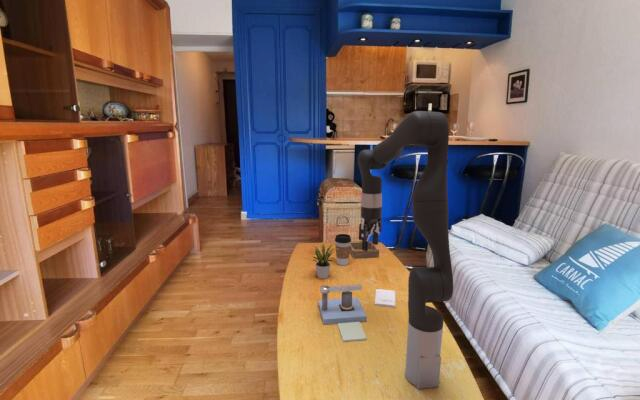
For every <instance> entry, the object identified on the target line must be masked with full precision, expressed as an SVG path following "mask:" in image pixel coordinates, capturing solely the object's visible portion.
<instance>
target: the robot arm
mask: <svg viewBox="0 0 640 400" xmlns="http://www.w3.org/2000/svg"><path fill="white" fill-rule="evenodd" d="M449 127H450V125H449V120H448V118H447V116H446V115H445V114H444V113H443V112H440V111H427V110H415V111H412V112H410V113H409V114H407V116H405V117H404V119H402V121H401V122H400V123H399V124H398V125H397V126H396V128H395V129H394V130H393V131H392V132H391V133H390V135H388V136H387V137H386V138H385V139H384V140H381V142H378V143H377V144H376V145H375V146H374V147H373V149H363V150H360V151H359V154H358V155H357V165H358V169H359V171H360V176H361V183H362V184H361V199H360V217H361V218H362V219H363V223H359V227H358V240H359V241H361V242H362V249H361V251H368V250H369V249H368V242H369V239H370V237H371V236H372V238H371V239H372V240H371V242H372V244H374V245H375V246H378V244H379V236H380V233H382V231H383V229H382V227H383V226H382V225H383V224H382V222H383V221H382V219H383V217H382V215H383V212H382V210H383V208H382V207H383V195H382V191H383V188H382V187H383V186H382V185H383V180H382V178H381V176H378V175H373V174H372V173H371V170H372V171H373V170H383V169H385V168H387V166H388V165H389V164H390V162H392V161H394V160H395V159H396V158H399V156H401V154H403V151H404V147H408V146H416V147H427V158H426V164H425V168H424V170H423V172H422V174H421V175H420V178H419V179H418V181H417V183H416V184H415V187H414V190H413V192H412V198H411V201H412V202H411V203H412V219H413V222H414V224H415V226H416V227H417V229H418V231H419V232H420V233H421V235H422V237H423V238H424V239H425V241H426V243H427V244H428V246H429V248H430V251H431V254H432V261H433V266H429V267H428V266H427V267H415V268H412V269H411V270H410V272H409V275H408V280H407V281H408V284H407V285H408V287H407V288H408V292H407V293H408V298H407V299H408V300H407V301H408V302H407V309H408V310H407V311H408V321H407V322H408V323H407V336H406V354H405V369H404V374H405V375H404V376H405V378H406V380H407V382H409V383H410V384H412V385H414V386H415V387H416V388H417V389H418V390H421V389H432V388H439V386H440V376H441V367H442V365H441V364H442V356H441V354H442V343H443V341H442V340H443V332H444V331H443V330H444V316H443V314H442V312H440V311H439V310H438V309H436V308H434V307H433V306H429V305H427V304H431V303H441V302H448V301H450V300H451V299H452V297H453V295H454V294H453V293H454V278H453V276H454V275H453V267H452V259H451V250H450V237H449V235H450V234H449V233H450V232H449V197H448V153H449V141H450V139H449V137H450V128H449Z"/></svg>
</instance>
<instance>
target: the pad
mask: <svg viewBox="0 0 640 400" xmlns="http://www.w3.org/2000/svg"><path fill="white" fill-rule="evenodd" d="M337 326H338V330H339V333H340V337H341V339H342V342H343V343H345V342H357V341H358V342H359V341H367V340H368V339H367V335H366V334H365V331H364V329H363V327H362V325H361V322H349V323H337Z"/></svg>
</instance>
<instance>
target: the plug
mask: <svg viewBox="0 0 640 400" xmlns="http://www.w3.org/2000/svg"><path fill="white" fill-rule="evenodd" d="M352 298H353V291H342V292H341V299H342V304H341V312H342V311H353V310H352V308H353V305H352Z"/></svg>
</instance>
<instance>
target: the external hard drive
mask: <svg viewBox="0 0 640 400" xmlns="http://www.w3.org/2000/svg"><path fill="white" fill-rule="evenodd" d="M396 305H397V304H396V290H393V289H392V290H390V289H380V288H379V289H378V288H376V289H375V296H374V306H378V307H387V308H396Z"/></svg>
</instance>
